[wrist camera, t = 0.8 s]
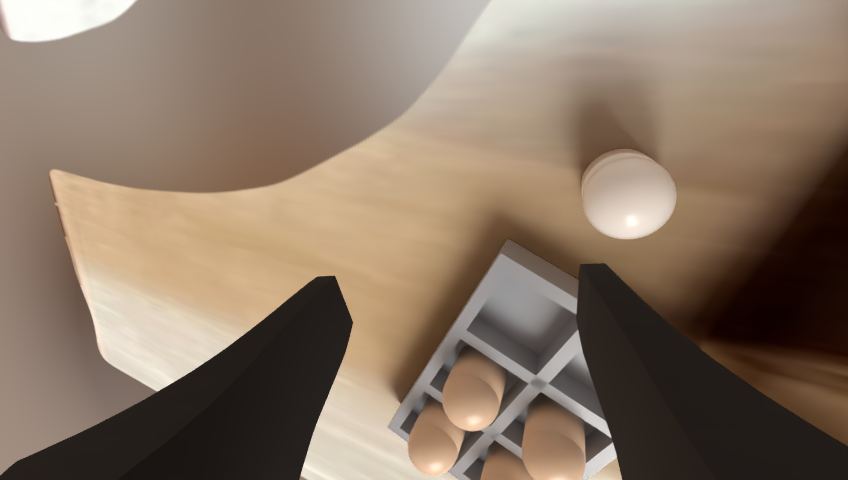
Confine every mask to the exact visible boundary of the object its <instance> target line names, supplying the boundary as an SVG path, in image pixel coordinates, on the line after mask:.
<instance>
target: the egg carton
mask: <svg viewBox="0 0 848 480" xmlns="http://www.w3.org/2000/svg"><path fill="white" fill-rule="evenodd" d="M578 285H579V280H578V279H576V278H574V277H572V276H571V275H569V274H567V273H566V272H564V271H562V270H561V269H559V268H557V267H555V266H554V265H552V264H550V263H549V262H547V261H545V260H544V259H542V258H540V257H539V256H537V255H535V254H533V253H532V252H530V251H528V250H527V249H525V248H523V247H522V246H520V245H518V244H516V243H515V242H513V241H511V240H510V239H507V240H506V242H505V243H504V245H503V246H502V248H501V250H500V251H499V253H498V254H497V256H496V257H495V259H494V260H493V262H492V264H491V265H490V267H489V268H488V270H487V271H486V273H485V274H484V276H483V277H482V279H481V281H480V282H479V284H478V285H477V287H476V288H475V290H474V291H473V293H472V295H471V296H470V298H469V299H468V301H467V302H466V304H465V305H464V307H463V308H462V310H461V312H460V313H459V315H458V316H457V318H456V319H455V321H454V322H453V324H452V326H451V327H450V329H449V330H448V332H447V333H446V335H445V336H444V338H443V339H442V341H441V343H440V344H439V346H438V347H437V349H436V350H435V352H434V353H433V355H432V357H431V358H430V360H429V361H428V363H427V364H426V366H425V367H424V369H423V370H422V372H421V374H420V375H419V377H418V378H417V380H416V381H415V383H414V384H413V386H412V388H411V389H410V391H409V392H408V394H407V395H406V397H405V398H404V400H403V401H402V403H401V405H400V406H399V408H398V410H397V411H396V413H395V415H394V417H393V418H392V420H391V422H390V424H389V425H388V428H389V429H390V430H392V431H393V432H395V433H396V434H397V435H399V436H400V437H401V438H403V439H404V440H405V441H407V442H408V453H409V457H410V459H411V462H412V463H413V465H414V466H415V467H416V468H417V469H418V470H419V471H420V472H422V473H423V474H426V475H429V476H438V475H442V474H444V473H446V472H447V471H448V472H449V473H451V474H452V475H453V476H455V477H456V478H457V479H459V480H587V479H589V478H590V477H591V476H593V475H594V474H595V473H597V472H598V471H599V470H601V469H602V468H603V467H605V466H606V465H607V464H609V463H610V462H611V461H613V460H614V459H615V458H617V455H616V451H615V448H614V445H613V441H612V438H611V434H610V432H609V429H608V426H607V423H606V420H605V417H604V414H603V411H602V408H601V405H600V402H599V399H598V396H597V393H596V390H595V388H594V385H593V382H592V379H591V376H590V373H589V370H588V367H587V364H586V361H585V358H584V355H583V351H582V346H581V341H580V337H579V332H578V327H577V322H576V312H577V298H578Z"/></svg>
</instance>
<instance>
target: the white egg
mask: <svg viewBox="0 0 848 480" xmlns="http://www.w3.org/2000/svg"><path fill="white" fill-rule="evenodd" d="M581 194H582V205H583V210H584V213H585V215H586V218H587V219H588V221H589V222H590V223H591V225H592V226H593V227H594V228H596V229H597V230H598V231H600V232H601V233H603V234H605V235H607V236H610V237H613V238H617V239H636V238H641V237H644V236H647V235H649V234H651V233H653V232H655V231H656V230H658V229H659V228H661V227H662V226H663V225H664V224H665V223H666V222H667V220H668V219H669V218H670V216H671V215H672V213H673V211H674V208H675V205H676V200H677V192H676V186H675V183H674V181H673V179H672V177H671V176H670V174H669V173H668V172H667V171H666V170H665V169H664V168H663V167H662V166H661V165H659V164H658V163H657V162H655V161H654V160H652V159H651V158H650V157H648V156H647V155H645V154H643V153H642V152H639V151H636V150H633V149H616V150H611V151H608V152H606V153H604V154H602V155H600V156H598V157H597V158H596V159H594V160H593V161H592V162H591V163H590V164H589V166H588V167H587V168H586V170H585V172H584V174H583V177H582V181H581Z"/></svg>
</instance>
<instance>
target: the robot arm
mask: <svg viewBox="0 0 848 480" xmlns="http://www.w3.org/2000/svg"><path fill="white" fill-rule="evenodd" d="M576 322H577V327H578V332H579V337H580V341H581V346H582V351H583V355H584V358H585V361H586V364H587V367H588V370H589V373H590V376H591V379H592V382H593V385H594V388H595V390H596V393H597V396H598V399H599V402H600V405H601V408H602V411H603V414H604V417H605V420H606V423H607V426H608V429H609V432H610V434H611V438H612V441H613V445H614V448H615V451H616V455H617V459H618V463H619V467H620V471H621V476H622V480H848V446H846V445H844V444H843V443H841V442H839V441H838V440H836V439H834V438H833V437H831V436H829V435H827V434H826V433H824V432H822V431H821V430H819V429H818V428H816V427H814V426H813V425H811V424H810V423H808V422H806V421H805V420H803V419H802V418H800V417H798V416H797V415H795V414H794V413H792V412H790V411H789V410H787V409H786V408H784V407H782V406H781V405H779V404H778V403H776V402H775V401H773V400H772V399H770V398H768V397H767V396H765V395H764V394H762V393H761V392H759V391H758V390H756V389H755V388H753V387H752V386H751V385H749V384H748V383H746V382H745V381H743V380H742V379H741V378H739V377H738V376H736V375H735V374H733V373H732V372H731V371H729V370H728V369H726V368H725V367H724V366H722V365H721V364H719V363H718V362H717V361H715V360H714V359H713V358H711V357H710V356H709V355H707V354H706V353H705V352H703V351H702V350H701V349H700V348H698V347H697V346H696V345H695V344H693V343H692V342H691V341H690V340H688V339H687V338H686V337H685V336H683V335H682V334H681V333H680V332H679V331H677V330H676V329H675V328H674V327H673V326H671V325H670V324H669V323H668V322H667V321H666V320H665V319H663V318H662V317H661V316H660V315H659V314H658V313H657V312H656V311H654V310H653V309H652V308H651V307H650V306H649V305H648V304H647V303H646V302H644V301H643V300H642V299H641V298H640V297H639V296H638V295H637V294H636V293H635V292H634V291H633V290H632V289H631V288H630V287H629V286H628V285H627V284H626V283H625V282H624V281H623V280H621V279H620V278H619V277H618V276H617V275H616V274H615V273H614V272H613V271H612V270H611V269H610V268H609V267H608V266H607V265H606V264H605V263H601V264H580V271H579V285H578V298H577V312H576ZM352 325H353V321H352V318H351V316H350V313H349V311H348V308H347V306H346V303H345V300H344V298H343V295H342V293H341V290H340V288H339V285H338V283H337V280H336V277H335V276H320V277H316V278H315V279H313V280H312V281H311V282H309V283H308V284H307V285H305V286H304V287H303V288H302V289H300V290H299V291H298V292H297V293H295V294H294V295H293V296H292V297H291V298H289V299H288V300H287V301H286V302H285V303H283V304H282V305H281V306H280V307H278V308H277V309H276V310H275V311H274V312H272V313H271V314H270V315H269V316H267V317H266V318H265V319H264V320H262V321H261V322H260V323H259V324H257V325H256V326H255V327H253V328H252V329H251V330H250V331H248V332H247V333H246V334H244V335H243V336H242V337H240V338H239V339H238V340H236V341H235V342H234V343H232V344H231V345H230V346H228V347H227V348H226V349H224V350H223V351H221V352H220V353H219V354H217V355H216V356H214V357H213V358H211V359H210V360H208V361H207V362H205V363H204V364H202V365H201V366H199V367H198V368H196V369H195V370H193V371H192V372H190V373H188V374H187V375H185V376H184V377H182V378H180V379H179V380H177V381H175V382H174V383H172V384H170V385H168V386H167V387H165V388H163V389H162V390H160V391H158V392H157V393H155V394H153V395H151V396H150V397H148V398H146V399H145V400H143V401H141V402H139V403H137V404H135V405H133V406H132V407H130V408H128V409H126V410H124V411H123V412H120V413H119V414H117V415H115V416H113V417H111V418H109V419H107V420H105V421H103V422H101V423H99V424H97V425H95V426H93V427H91V428H89V429H87V430H85V431H83V432H80V433H78V434H76V435H74V436H72V437H70V438H67V439H65V440H63V441H61V442H59V443H56V444H54V445H52V446H50V447H48V448H46V449H43V450H41V451H39V452H37V453H35V454H33V455H30V456H28V457H26V458H23V459H21V460H19V461H17V462H15V463H14V464H13V465H12V466H11V467H9V468H8V469H7V470H6V471H5V472H4V473H3V474H2V475H0V480H299V478H300V475H301V471H302V467H303V464H304V461H305V458H306V454H307V451H308V448H309V444H310V441H311V438H312V435H313V432H314V429H315V426H316V424H317V421H318V418H319V416H320V414H321V411H322V409H323V406H324V404H325V401H326V399H327V397H328V394H329V392H330V389H331V387H332V384H333V382H334V380H335V377H336V375H337V372H338V370H339V367H340V365H341V362H342V360H343V357H344V355H345V352H346V348H347V345H348V341H349V337H350V333H351V329H352Z"/></svg>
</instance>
